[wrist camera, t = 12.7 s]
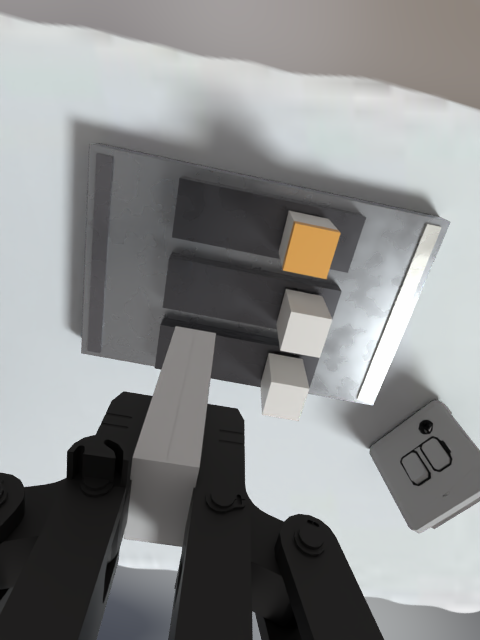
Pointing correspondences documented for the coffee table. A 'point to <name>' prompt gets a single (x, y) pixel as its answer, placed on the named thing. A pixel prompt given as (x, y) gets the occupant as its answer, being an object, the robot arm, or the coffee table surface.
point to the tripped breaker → (308, 244)
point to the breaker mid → (303, 323)
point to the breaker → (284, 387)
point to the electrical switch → (429, 467)
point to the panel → (156, 243)
